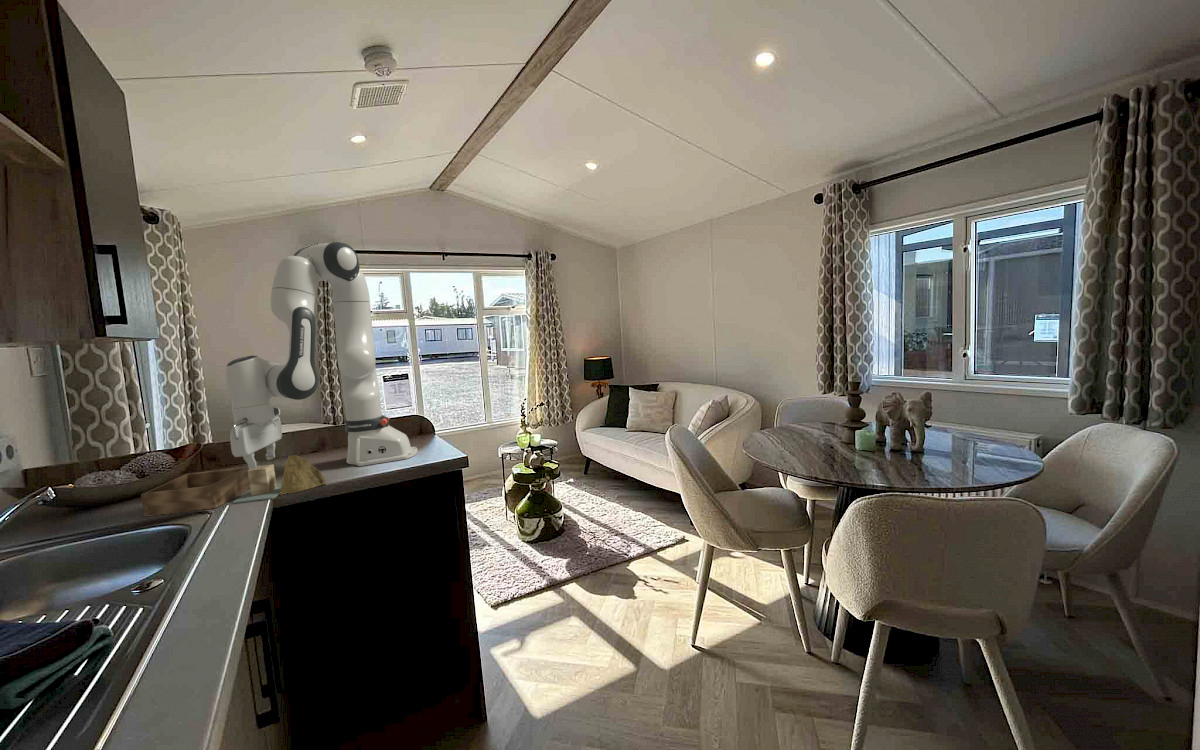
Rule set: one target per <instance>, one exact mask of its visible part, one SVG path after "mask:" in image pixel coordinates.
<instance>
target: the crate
mask: <svg viewBox="0 0 1200 750" xmlns="http://www.w3.org/2000/svg"><path fill="white" fill-rule="evenodd" d="M248 470H250V469H249V468H248V466H247V467H239V468H238V467H237V468H228V469H221V470H220V469H219V470H211V471H204V472H203V471H202V472H193V473H186V474H183V475H180V476H179V477H177V478H174V479H172V480H169V481H167V482H165V483H163V484H161V485H158V486H156V487H154V488H152V489H150V490H147V491H145V492H143V493H141V494H140V498H141V499H140V500H141V503H142V509H143V513H144V514H143V515H144V517H145V516H148V515H157V516H160V515H159V514H165V515H170V514H169V513H174V514H179V513H178V512H182V513H188V512H187V511H190V512H194V511H193V510H199V511H203V510H202V509H207V510H212V509H211V508H215V509H217V508H216V507H218V506H219V507H221V506H223V505H225V503H227V501H228V502H229V501H231V500H233V499H234V498H236V497H238V496H239V495H241V494H243V493H244V492H245V490H246V491H247V490H249V489H250V482H249V476H248ZM248 488H249V489H248ZM243 491H244V492H243ZM240 493H241V494H240ZM237 495H238V496H237ZM232 498H233V499H232ZM222 504H223V505H222ZM220 505H221V506H220ZM219 507H218V508H219Z"/></svg>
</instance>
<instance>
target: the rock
mask: <svg viewBox="0 0 1200 750" xmlns="http://www.w3.org/2000/svg"><path fill="white" fill-rule="evenodd" d="M285 462H286V463H285V466H284V470H283V475H282V479H281V481H280V482H281V483H280V484H281V493H280V494H279V495H280V496H284V495H287V493H288V494H293V493H294V494H295V493H299V492H302V491H305V490H309V489H314V488H316V487H321V486H324V485H326V484H327V481H326V479H325V476H324V475H323V474H322V472H321V470H319V469H318V468H317V467H315V466H314V465H313V464H312V463H311V462H309V461H308V460H307V459H305V458H303V457H301V456H299V455H296V454H295V455H294V454H293V455H288V457H287V461H285ZM283 494H284V495H283Z"/></svg>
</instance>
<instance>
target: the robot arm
mask: <svg viewBox="0 0 1200 750" xmlns="http://www.w3.org/2000/svg"><path fill="white" fill-rule="evenodd" d="M320 281H321V282H322V281H323V282H325V281H327V282H328V283H329V285H330V287H331V290H332V291H331V292H332V294H331V295H332V296H331V298H332V306H333V307H332V308H333V309H332V310H333V318H334V319H333V320H334V329H335V330H334V331H335V332H334V333H335V347H336V356H337V357H336V359H337V366H338V369H339V372H340V380H341V388H342V389H341V390H342V398H343V405H344V413H345V421H344V424H345V425H344V427H345V433H346V437H347V455H346V457H347V458H346V463H347V464H349V465H356V466H357V467H363V466H368V465H369V466H370V465H375V464H376V465H377V464H382V463H387V462H388V463H389V462H394V461H396V462H397V461H402V460H406V459H410V458H412V457H414V456H415V455H416V454H417V453H418V451H419V450H418V448H417V446H411V443H410V439H409V437H408V435H407V434H405V433H404V432H402V431H400V430H399V429H396V428H394V427H393V426H392V425H390V416H385V415H383V411H382V406H381V397H380V396H381V395H380V389H379V384H378V375H377V368H376V363H377V361H376V353H375V352H376V351H375V343H374V342H375V341H374V340H375V339H374V332H373V324H372V323H373V322H372V312H371V311H372V310H371V298H370V292H369V287H368V284H367V280H366V277H365V275H364V273H363V272H362V271H361V270H360V261H359V257H358V255H357V252H356V251H355V249H354V248H353V247H352V246H351V245H350V244H347V243H345V242H339V241H333V242H323V243H318V244H315V245H311V246H309V247H308V246H307V247H306V246H305V247H302V248H300V249H299V250H297V251H296V252H295V253H294V254H293V255H289V256H285V257H283V258H282V259H281V260H280V261H279V263H278V266H277V268H276V270H275V275H274V277H273V283H272V287H271V294H270V308H271V312H272V314H273V315H274V316H275V317H276V318H277V319H278V320H279V321H281V322H283V323H284V324H285V326H286V327H287V329H288V332H289V337H288V338H289V341H288V343H289V344H288V357H287V361H286V363H277V362H272V361H270V360H266V359H263V358H261V357H259V356H258V355H247V356H244V357H242V356H241V357H238V358H236V359H233V360H231V361H229V362H228V363H227V364H226V366H225V367H226V368H225V378H226V379H225V380H226V387H227V392H228V394H229V395H230V398H231V412H232V416H233V421H234V422H233V426H232V428H231V430H230V432H229V439H230V441H229V442H230V448H231V450H230V451H231V454H232V455H233V457H234V458H241V457H243V460H244V461H245V463H246V464H247V467H248V468H249V470H252V469H256V468H257V467H258V466H259V461H256V459H255V455H256V454H255V453H256V452H258V451H259V450H261V449H263V448H266V453H265V454H264V455H265V460H266V461H270V460H273V459H275V458H276V455H275V454H276V453H275V452H276V451H275V450H276V442H278V441H280V440H282V437H283V429H282V422H281V418H280V415H281V410H280V408H279V407H278V406H274V405H272V404H271V398H281V399H291V400H296V401H298V400H299V401H300V400H305V399H307V398H309V397H311V396H312V395H313V394H314V393H315V392H316V390H317V389H318V387H319V380H320V379H319V374H318V371H317V368H316V363H315V359H316V351H315V350H316V318H315V303H316V294H317V285H318V283H319V282H320Z"/></svg>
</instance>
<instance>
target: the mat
mask: <svg viewBox="0 0 1200 750" xmlns="http://www.w3.org/2000/svg"><path fill="white" fill-rule="evenodd" d="M276 484H277V483H276ZM280 492H281V483H278V484H277V489H275V490H274V491H272V492H271V493H268V494H260V495H251V490H249V491H248V492H246V493H244V494H243V495H241V496H240V497H238V498H237V499H235V500H233V501H231V505H236V504H243V503H244V502H245V503H251V502H252V501H253V502H258V501H257V500H262V501H265V500H264V499H270V500H274V499H275V498H277V497H278V496H279V495H280V494H279V493H280ZM278 494H279V495H278Z"/></svg>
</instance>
